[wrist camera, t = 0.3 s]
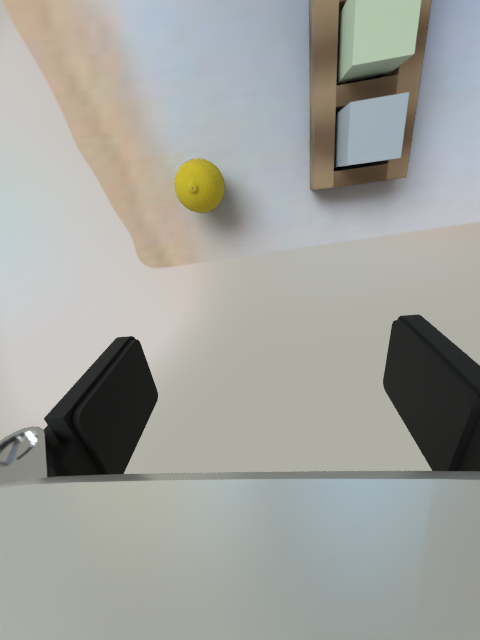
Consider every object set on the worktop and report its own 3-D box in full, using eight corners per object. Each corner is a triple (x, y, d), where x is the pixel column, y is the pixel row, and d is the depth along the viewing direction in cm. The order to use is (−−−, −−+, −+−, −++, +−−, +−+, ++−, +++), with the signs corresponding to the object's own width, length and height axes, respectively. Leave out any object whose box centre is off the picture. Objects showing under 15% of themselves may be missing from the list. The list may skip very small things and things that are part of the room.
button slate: (336, 113, 28) (350, 102, 24) (385, 105, 28) (409, 92, 23) (334, 167, 31) (347, 165, 26) (380, 160, 30) (400, 157, 26)
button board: (308, -127, 22) (315, -168, 20) (436, -162, 21) (461, -210, 19) (310, 188, 33) (314, 189, 31) (394, 177, 32) (406, 177, 30)
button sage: (339, 15, 25) (356, -20, 21) (395, 3, 24) (426, -36, 20) (337, 83, 27) (352, 65, 23) (388, 74, 27) (414, 54, 22)
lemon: (176, 179, 34) (154, 180, 27) (210, 150, 32) (196, 142, 25) (203, 217, 36) (189, 227, 29) (236, 191, 34) (230, 195, 27)
